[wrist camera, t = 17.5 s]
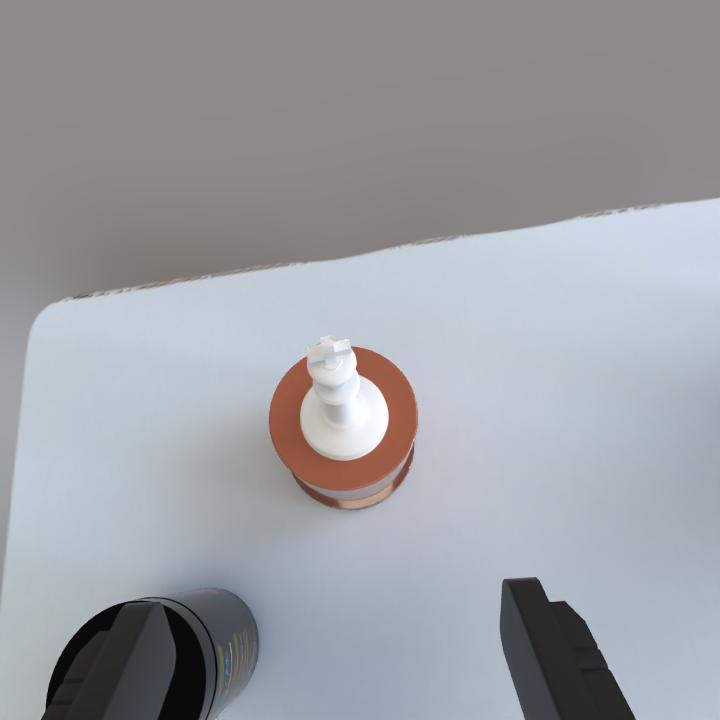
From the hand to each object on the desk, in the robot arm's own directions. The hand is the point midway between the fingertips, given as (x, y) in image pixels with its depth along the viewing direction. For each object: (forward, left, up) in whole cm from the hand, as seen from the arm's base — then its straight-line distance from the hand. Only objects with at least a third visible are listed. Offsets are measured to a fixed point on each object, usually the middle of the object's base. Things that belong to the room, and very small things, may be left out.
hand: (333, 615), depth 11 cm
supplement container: (+10, -4, -21) cm, 24 cm away
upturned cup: (-5, -7, -21) cm, 23 cm away
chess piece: (-5, -7, -13) cm, 16 cm away
